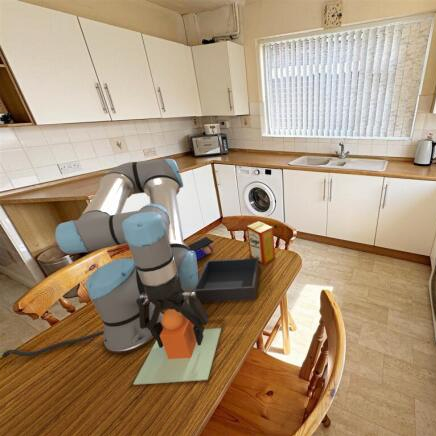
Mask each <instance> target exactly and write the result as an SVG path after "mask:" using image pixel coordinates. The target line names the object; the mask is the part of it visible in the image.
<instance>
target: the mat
mask: <svg viewBox="0 0 436 436" xmlns="http://www.w3.org/2000/svg"><path fill="white" fill-rule="evenodd" d="M221 332H222V327H209V328H205V329H204V332H203V336H204V337H203V340H202V343H201V345H198V344H197V342H196V345H195V348H194V351H193V353H192V356H191V358H178V359H168V357H167V354H166V351H165V349H164V346H163V347H162V348H159V345H158V343H157V340H156V339H155V342H154V344H153V346H152V348H151V350H150V352H149V353H148V355H147V357H146V359H145V361H144V362H143V365H142V366H141V368H140V370H139V372H138V374H137V376H136V378H135V379H134V381H133V386H135V385H137V386H139V385H151V384H166V383H167V384H169V383H183V382H197V381H208V380H209V377H210V373H211V369H212V365H213V362H214V358H215V355H216V350H217V346H218V343H219V339H220V336H221Z"/></svg>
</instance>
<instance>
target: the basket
mask: <svg viewBox="0 0 436 436" xmlns="http://www.w3.org/2000/svg"><path fill="white" fill-rule="evenodd" d="M259 274H260V262H259V260H258V258H252V257H249V258H233V259H212V260H211V259H210V260H206V262H205V264H204V266H203V268H202V270H201V272H200V275H198V282H197V286H196V287H195V288H194V289H193V290H196V291H197V297H198V299H199V300H200V302H201V303H208V302H211V303H212V302H226V301H245V300H256V298H257V291H258V283H259V282H258V281H259Z"/></svg>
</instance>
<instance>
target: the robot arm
mask: <svg viewBox="0 0 436 436" xmlns="http://www.w3.org/2000/svg"><path fill="white" fill-rule="evenodd" d="M98 187H99V188H98V190H97V192H96V193H95V194H94V196H93V197H92V198H91V200H90V202H89V203H88V205H87V206H86V208H85V209H84V210H83V212H82V213H81V216H80V217H79V218H78V219H76V220H73V219H72V220H69V221H65V222H62V223H59V224H58V225H57V226H56V228H55V233H54V236H55V241H56V244H57V246H58V247H59V249H60V250H61V251H62V252H63V253H65V254H68V255H73V254H80V253H89V252H92V251H97V250H101V249H106V248H111V247H116V246H121V245H126V244H127V246H128V248H129V251H130V254H131V257H122V258H117V259H115V260H112V261H109V262H107V263H105V264H104V265H102V266H100V267H98V268H97V269H95V270H94V271H93V272H92V273H91V274H90V275H89V276H88V278H87V280H86V283H85V288H86V291H87V293H88V298H89V299H90V301H91V302H92V304H93V307H94V308H95V310H96V311H97V314H98V315H99V318H100V320H101V321H102V323H103V330H101V331H98V332H95V333H91V334H88V335H86V336H82V337H79V338H74V339H69V340H63V341H61V342H57V343H53V344H52V345H48V346H46V347H43V348H41V349H37V350H34V351H24V350H18V349H8V350H6V351H4V352H3V353H2V355H1V357H2V358H4V357H6V356H8V355H16V356H21V357H32V356H36V355H40V354H43V353H46V352H48V351H50V350H53V349H56V348H58V347H62V346H67V345H71V344H76V343H79V342H84V341H87V340H91V339H93V338H97V337H100V336H103V344H104V346H105V348H106V350H107V351H108V352H109V353H110V354H114V355H125V354H130V353H133V352H135V351H137V350H139V349H141V348H143V347H145V346H147V345H148V344H149V343H151V342H152V341H153V340H154V339H155V341H156V340H157V343H158V345H159V348H162V347H163V343H162V341H161V338H160V334H161V332H162V330H163V328H164V326H163V325H162V316H163V313H162V311H166V310H168V309H174V310H176V311H177V312H180V313H181V314H182V315H184V316H185V317H186V318H187V319H188V320H189V321H190V322H191V323H192V324H193V325H194V327H193V330H194V334H195V337H196V341H197V344H198V345H201V343H202V340H203V337H204V336H203V332H204V329H206V328H205V326H207V324H208V321H209V318H210V315H209V313H208V312H207V310H206V309H205V306H204V305H203V304H202V302H200V300H199V299H198V297H197V291H196V290H193V289H194V288H195V287H196V286H197V282H198V279H199V268H198V259H197V258H196V254H195V252H194V251H190V248H189V247H188V245H187V244H185V242H184V236H183V229H182V223H181V217H180V211H179V204H178V199H177V195H179V194H180V193H179V192H180V189H182V188H183V187H184V181H183V179H182V175H181V173H180V169H179V167H178V164H177V162H176V160H175V159H173V158H161V159H151V160H138V161H129V162H124V163H122V164H119V165H117V166H115V167H113V168H112V169H110V170H108V171H107V172H106V173H104V175H103V176H102V177H101V179H100V180H99V184H98ZM139 194H145V195H146V196H147V197H149V203H147V204H145V205H143V206H142V207H141V208H140V209H138V210H135V211H134V210H132V211H127V212H126V211H125V212H123V211H124V207H125V204H126V202H127V200H128V199H130V197H132V195H139ZM12 351H13V352H12ZM10 352H11V353H10ZM9 353H10V354H9ZM7 354H8V355H7ZM5 355H6V356H5Z"/></svg>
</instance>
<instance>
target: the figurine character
mask: <svg viewBox="0 0 436 436" xmlns="http://www.w3.org/2000/svg"><path fill="white" fill-rule="evenodd" d="M213 243H214V240H212V239H211V238H209V237H207V236H205V237H203V238H201V239H198V240H197V241H194V242H192V243H191V244H189V245H187V246H188V247H189V248H190V251H194V252H195V254H196V258H197V260H199V259H202V258H203V257H204V256H206V255H211V254H213V251H214V247H213V245H212V244H213Z"/></svg>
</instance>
